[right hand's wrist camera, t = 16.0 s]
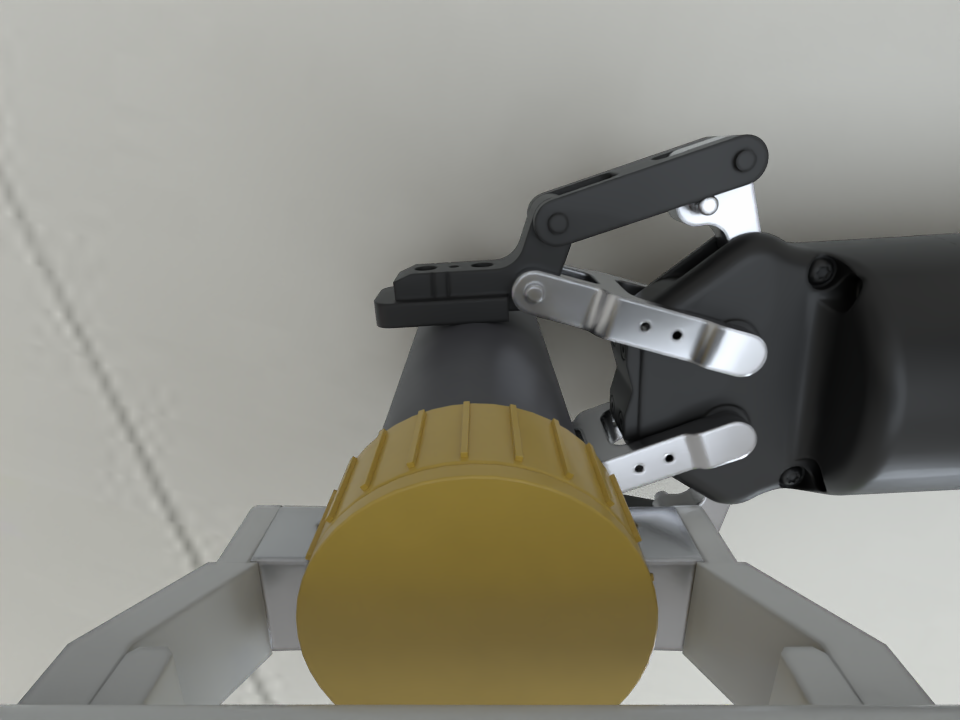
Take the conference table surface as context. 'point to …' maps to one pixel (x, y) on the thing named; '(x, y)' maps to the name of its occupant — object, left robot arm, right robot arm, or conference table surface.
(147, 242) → the conference table surface
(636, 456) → the left robot arm
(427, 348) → the jar
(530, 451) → the lid
